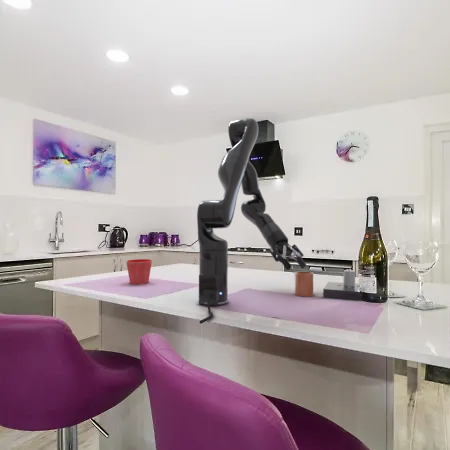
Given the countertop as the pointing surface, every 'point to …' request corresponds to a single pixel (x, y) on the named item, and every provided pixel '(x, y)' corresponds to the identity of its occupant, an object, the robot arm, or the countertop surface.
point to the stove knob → (349, 278)
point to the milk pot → (304, 283)
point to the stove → (341, 291)
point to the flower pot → (139, 270)
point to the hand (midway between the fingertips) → (297, 267)
